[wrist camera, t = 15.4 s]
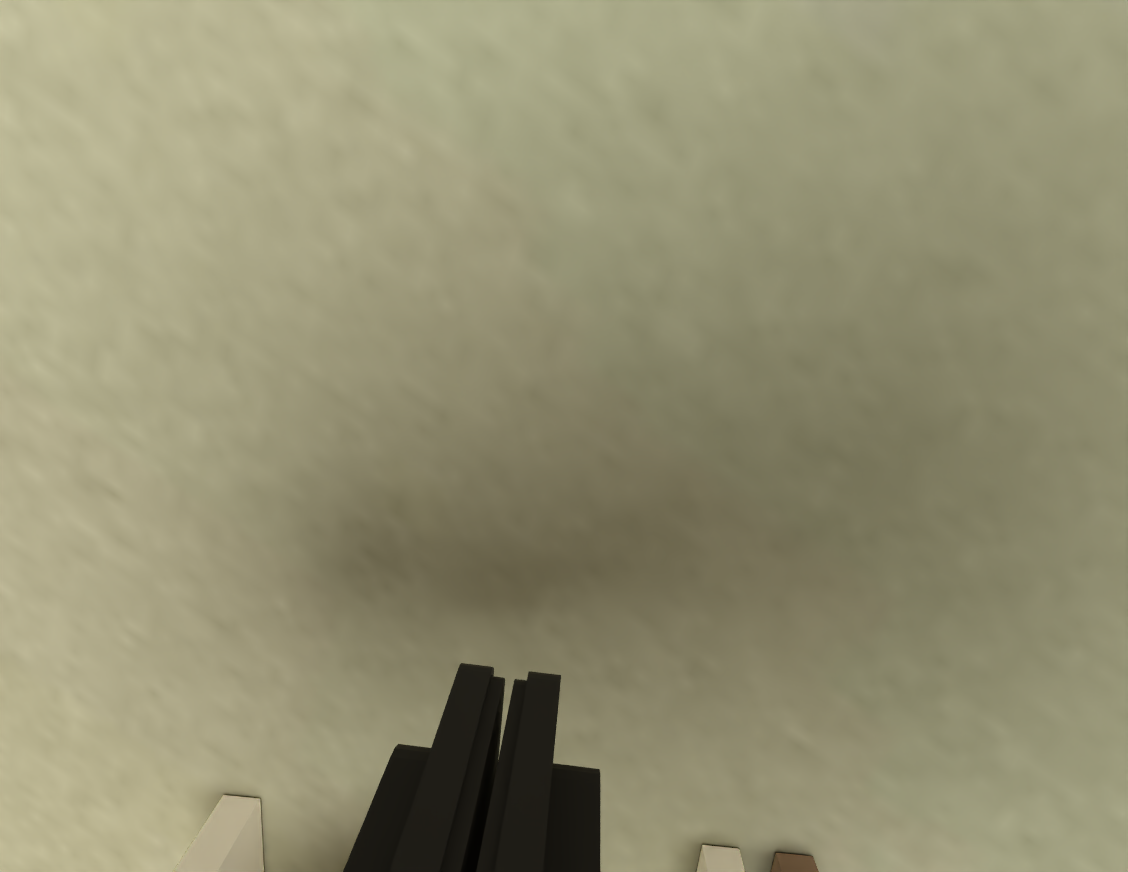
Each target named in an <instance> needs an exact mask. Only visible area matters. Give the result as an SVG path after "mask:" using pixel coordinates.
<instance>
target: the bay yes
mask: <svg viewBox="0 0 1128 872" xmlns="http://www.w3.org/2000/svg"><path fill="white" fill-rule="evenodd" d="M173 872H264V861H263V842H262V823H261V803H260V799H258V798H248V797H239V796H229V795H223V796H222V798H221V799H220V801H219V802H218V804H217V805H216V807H215V808H214V810H213V811H212V813H211V814H210V816H209V818H208V819H207V821H206V822H205V824H204V825H203V827H202V828H201V830H200V831H199V833H198V834H197V836H196V837H195V839H194V840H193V842H192V843H191V845H190V846H189V848H188V849H187V851H186V852H185V854H184V855H183V857H182V858H181V860H180V861H179V863H178V864H177V866H176V867H175V869H174V870H173ZM697 872H745V869H744V866H743V862H742V858H741V854H740V850H739V849H737V848H727V847H718V846H708V845H702V849H701V853H700V858H699V863H698V867H697Z"/></svg>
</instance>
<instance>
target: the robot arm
mask: <svg viewBox="0 0 1128 872" xmlns="http://www.w3.org/2000/svg"><path fill="white" fill-rule="evenodd" d="M560 681H561V675H554V674H546V673H538V672H529V673H528V678H527V681H526V680H518V679H515V680H514V685H513V690H512V695H511V700H510V705H509V710H508V715H507V720H506V725H505V730H504V735H503V740H502V745H501V750H500V755H499V745H500V733H501V722H502V710H503V698H504V686H505V678H501V677H494V668H493V667H488V666H480V665H472V664H464V663H461V664H460V666H459V668H458V671H457V674H456V677H455V680H454V683H453V686H452V689H451V692H450V695H449V698H448V701H447V704H446V706H445V709H444V712H443V715H442V718H441V721H440V724H439V727H438V730H437V733H436V736H435V739H434V742H433V745H432V748H426V747H418V746H410V745H402V744H398V745H397V746H396V747H395V749H394V751H393V753H392V755H391V757H390V759H389V762H388V764H387V767H386V769H385V772H384V774H383V776H382V779H381V781H380V784H379V786H378V789H377V791H376V793H375V796H374V798H373V801H372V803H371V805H370V808H369V810H368V813H367V815H366V818H365V820H364V822H363V825H362V827H361V830H360V832H359V834H358V837H357V839H356V842H355V844H354V847H353V849H352V851H351V854H350V856H349V859H348V861H347V863H346V866H345V868H344V871H343V872H600V770H599V769H593V768H585V767H577V766H569V765H561V764H553V756H554V745H555V734H556V724H557V713H558V702H559V691H560ZM498 757H499V760H498Z"/></svg>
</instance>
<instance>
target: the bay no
mask: <svg viewBox="0 0 1128 872" xmlns="http://www.w3.org/2000/svg"><path fill="white" fill-rule="evenodd" d="M771 872H818V869H817V866H816V864H815V861H814V858H813V856H804V855H795V854H785V853H776V854H775V858H774V862H773V866H772V870H771Z"/></svg>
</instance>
